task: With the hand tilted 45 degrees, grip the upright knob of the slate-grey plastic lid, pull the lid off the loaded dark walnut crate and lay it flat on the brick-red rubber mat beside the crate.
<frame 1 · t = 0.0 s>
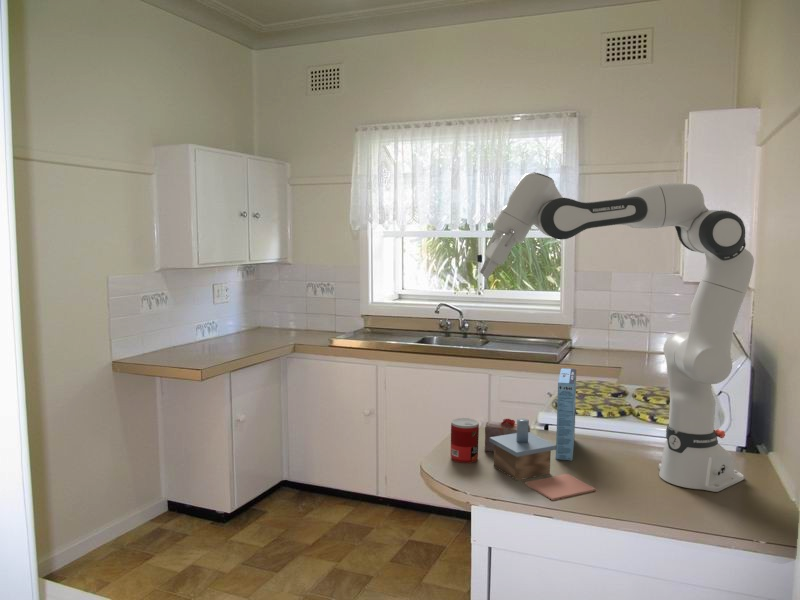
hand: (483, 275, 172), 54 cm above the worktop, tool tilted 30°, fingers open, 8 cm apart
food item: (507, 451, 196), on the worktop
lid: (522, 449, 181), point 6 cm above the worktop, touching crate
mat: (559, 487, 170), on the worktop
blue box: (565, 449, 198), on the worktop
canned food: (464, 459, 190), on the worktop
crate: (521, 469, 181), on the worktop
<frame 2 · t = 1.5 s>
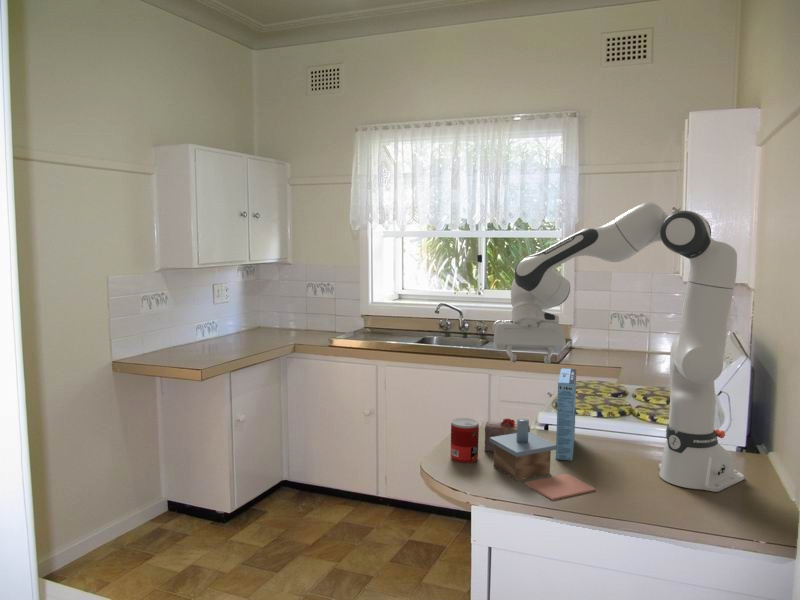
hand: (530, 361, 183), 30 cm above the worktop, tool tilted 45°, fingers open, 8 cm apart
nothing on the worktop moved.
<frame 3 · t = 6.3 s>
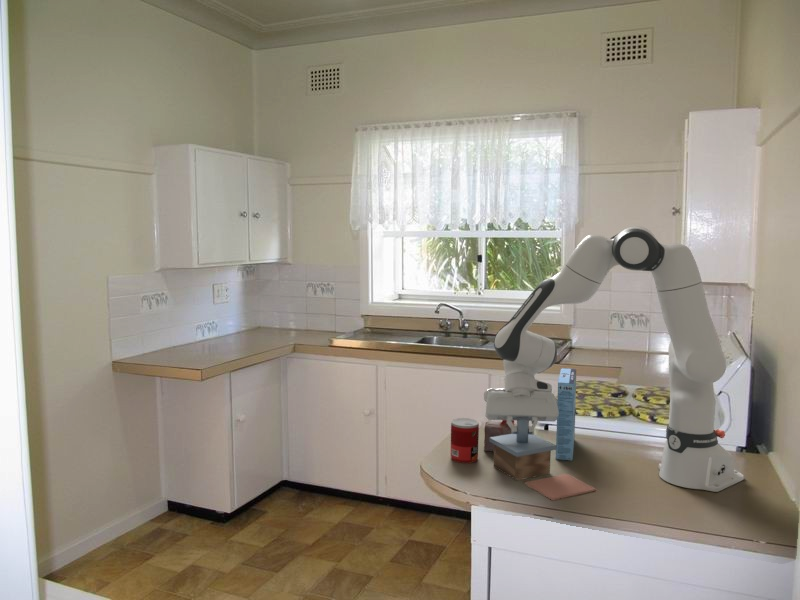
hand: (522, 433, 179), 11 cm above the worktop, tool tilted 45°, fingers closed on lid, 3 cm apart
lid: (522, 449, 181), point 6 cm above the worktop, touching crate, gripper
everything else where it was.
when the fingers open (7 cm above the worktop, at t = 11.9 s): lid drops 2 cm, resting on mat.
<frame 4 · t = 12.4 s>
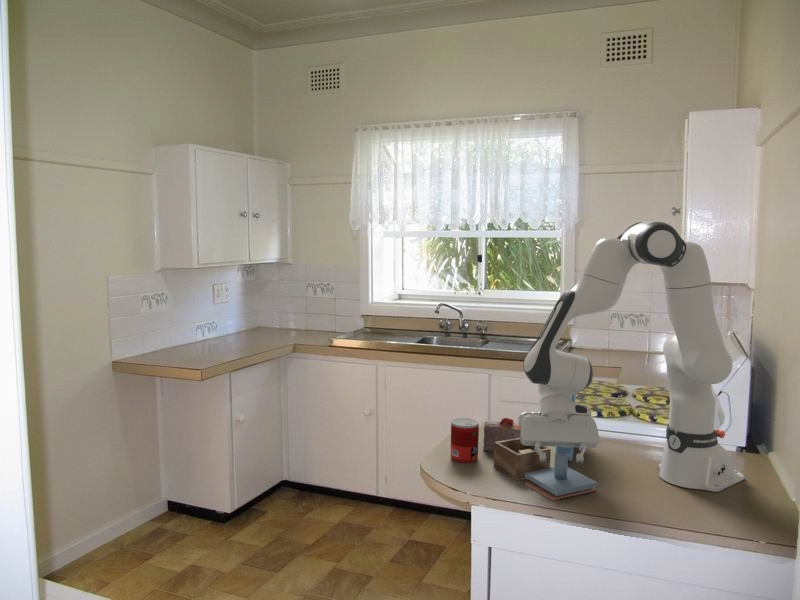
hand: (561, 461, 168), 7 cm above the worktop, tool tilted 45°, fingers open, 8 cm apart
lid: (560, 485, 169), resting on mat
everything else where it was.
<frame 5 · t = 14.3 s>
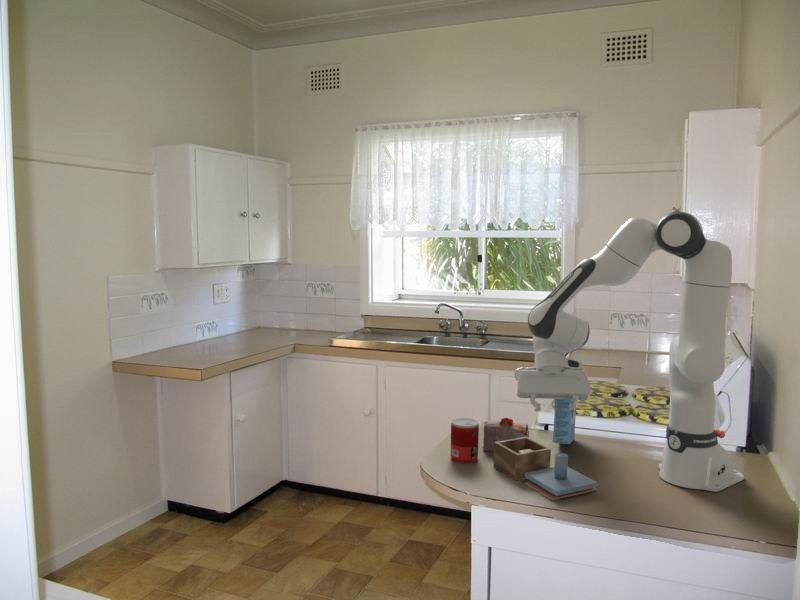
hand: (555, 411, 179), 17 cm above the worktop, tool tilted 45°, fingers open, 8 cm apart
blue box: (563, 441, 198), point 2 cm above the worktop, touching arm
everything else where it was.
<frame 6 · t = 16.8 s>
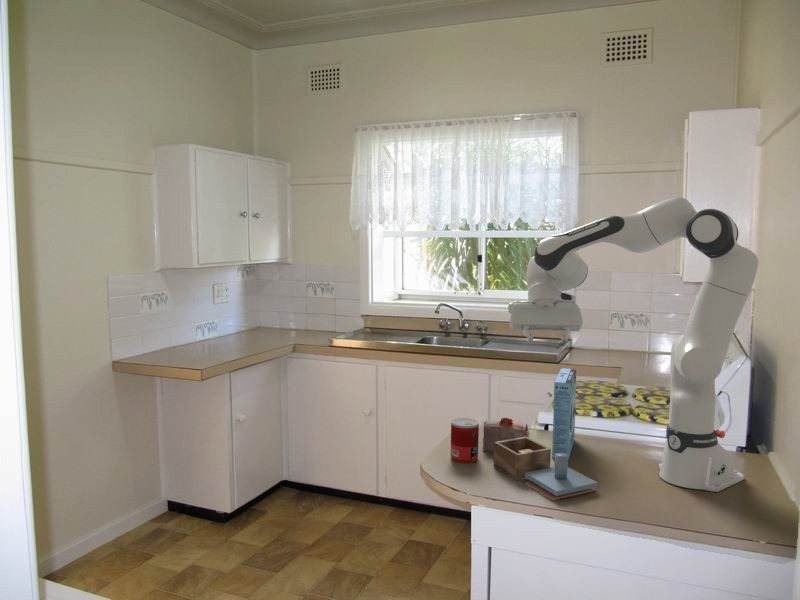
hand: (547, 341, 182), 35 cm above the worktop, tool tilted 45°, fingers open, 8 cm apart
blue box: (563, 449, 198), on the worktop
everything else where it was.
at the end: lid inside the target area on the mat (0.1 cm from its centre), point 0.5 cm above the mat's base; lid tilted 0°; the gripper is holding nothing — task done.
